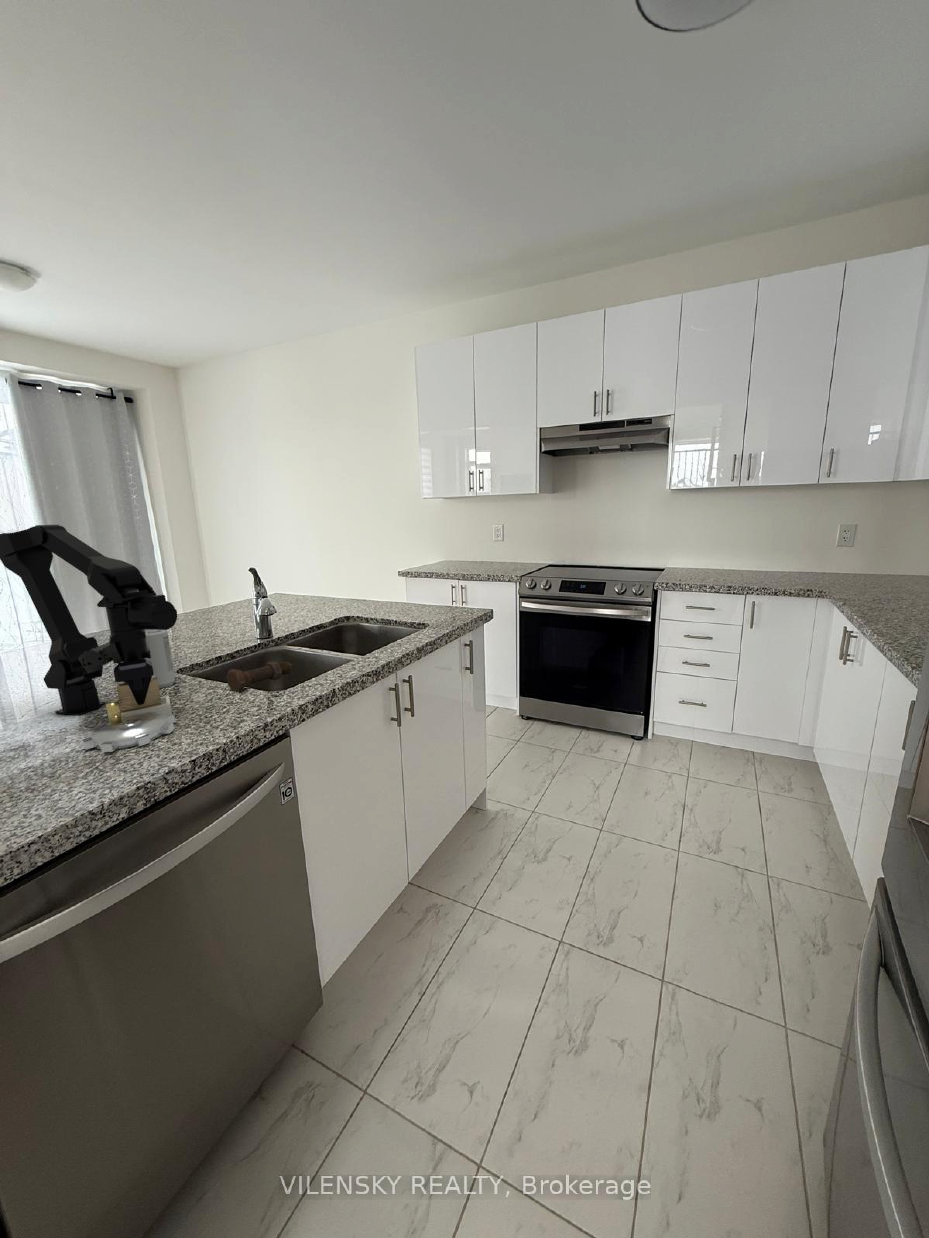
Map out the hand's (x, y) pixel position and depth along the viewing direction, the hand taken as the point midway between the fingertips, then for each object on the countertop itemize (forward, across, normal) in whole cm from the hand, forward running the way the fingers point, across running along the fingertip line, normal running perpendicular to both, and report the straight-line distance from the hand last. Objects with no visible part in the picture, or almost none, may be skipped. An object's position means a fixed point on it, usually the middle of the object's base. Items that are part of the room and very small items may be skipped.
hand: (140, 701), depth 103 cm
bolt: (+4, -6, +25) cm, 26 cm away
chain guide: (+3, 0, 0) cm, 3 cm away
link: (+1, 0, 0) cm, 1 cm away
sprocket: (+3, +11, -2) cm, 11 cm away
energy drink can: (+3, -20, +4) cm, 21 cm away
